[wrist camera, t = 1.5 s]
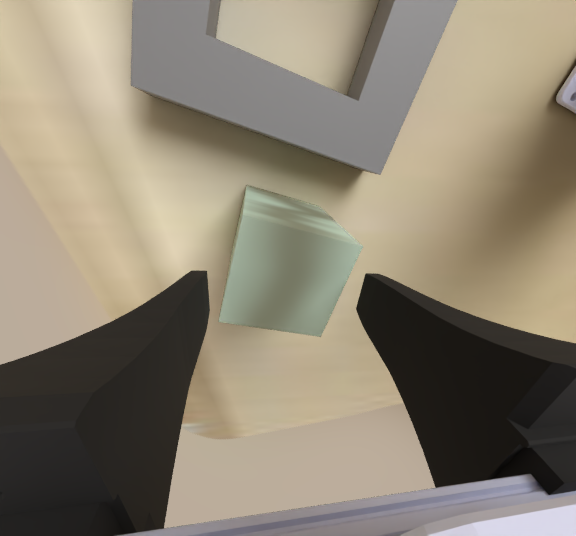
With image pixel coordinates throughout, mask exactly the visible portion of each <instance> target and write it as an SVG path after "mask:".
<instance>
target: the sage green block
mask: <svg viewBox="0 0 576 536" xmlns="http://www.w3.org/2000/svg"><path fill="white" fill-rule="evenodd" d="M362 248H363V246H362V245H361V244H360V243H359V242H358V241H357V240H356V239H354V238H353V237H352V236H351V235H350V234H349V233H348V232H347V231H346V230H345V229H344V228H342V227H341V226H340V225H339V224H338V223H337V222H336V221H335V220H334V219H333V218H331V217H330V216H329V215H328V214H327V213H326V212H325V211H324V210H323V209H322V208H321V207H319V206H317V205H313V204H310V203H306V202H303V201H300V200H296V199H293V198H289V197H286V196H283V195H279V194H276V193H273V192H269V191H266V190H262V189H259V188H256V187H252V186H249V185H247V186H246V190H245V195H244V199H243V204H242V208H241V213H240V217H239V222H238V226H237V231H236V235H235V240H234V244H233V249H232V253H231V258H230V263H229V269H228V274H227V279H226V285H225V290H224V295H223V300H222V306H221V311H220V316H219V322H222V323H228V324H235V325H242V326H249V327H256V328H263V329H270V330H277V331H284V332H291V333H298V334H305V335H312V336H319V337H321V335H322V333H323V331H324V329H325V326H326V324H327V322H328V320H329V318H330V316H331V314H332V311H333V309H334V307H335V305H336V303H337V301H338V299H339V297H340V294H341V292H342V290H343V288H344V286H345V284H346V282H347V280H348V277H349V275H350V273H351V271H352V269H353V267H354V265H355V262H356V260H357V258H358V256H359V254H360V252H361V250H362Z"/></svg>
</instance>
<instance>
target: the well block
mask: <svg viewBox="0 0 576 536" xmlns="http://www.w3.org/2000/svg"><path fill="white" fill-rule="evenodd" d="M220 2H221V0H133V11H132V58H131V86H133V87H135V88H137V89H139V90H141V91H143V92H145V93H147V94H149V95H151V96H154V97H157V98H160V99H163V100H166V101H168V102H171V103H174V104H177V105H180V106H182V107H185V108H188V109H191V110H194V111H196V112H199V113H202V114H205V115H208V116H211V117H213V118H216V119H219V120H222V121H225V122H227V123H230V124H233V125H236V126H239V127H242V128H244V129H247V130H250V131H253V132H256V133H258V134H261V135H264V136H267V137H270V138H273V139H275V140H278V141H281V142H284V143H287V144H289V145H292V146H295V147H298V148H301V149H303V150H306V151H309V152H312V153H315V154H318V155H320V156H323V157H326V158H329V159H332V160H334V161H337V162H340V163H343V164H346V165H349V166H351V167H354V168H357V169H360V170H363V171H366V172H371V173H375V174H379V175H381V172H382V170H383V168H384V165H385V163H386V161H387V159H388V156H389V154H390V152H391V150H392V147H393V145H394V143H395V141H396V138H397V136H398V134H399V132H400V129H401V127H402V125H403V122H404V120H405V118H406V116H407V113H408V111H409V109H410V107H411V104H412V102H413V100H414V98H415V95H416V93H417V91H418V89H419V86H420V84H421V82H422V79H423V77H424V75H425V73H426V70H427V68H428V66H429V64H430V61H431V59H432V57H433V55H434V52H435V50H436V48H437V46H438V43H439V41H440V39H441V36H442V34H443V32H444V30H445V27H446V25H447V23H448V21H449V18H450V16H451V14H452V12H453V9H454V7H455V5H456V3H457V0H379V3H378V6H377V9H376V12H375V15H374V18H373V21H372V24H371V26H370V29H369V32H368V35H367V38H366V41H365V44H364V47H363V50H362V53H361V56H360V59H359V62H358V65H357V68H356V70H355V73H354V76H353V79H352V82H351V85H350V88H349V91H348V94H347V96H346V95H343V94H341V93H339V92H337V91H334V90H332V89H330V88H327V87H325V86H323V85H321V84H318V83H316V82H314V81H311V80H309V79H307V78H305V77H302V76H300V75H298V74H295V73H293V72H291V71H289V70H286V69H284V68H282V67H279V66H277V65H275V64H273V63H270V62H268V61H266V60H263V59H261V58H259V57H257V56H254V55H252V54H250V53H247V52H245V51H243V50H241V49H238V48H236V47H234V46H231V45H229V44H227V43H225V42H222V41H220V40H218V39H215V38H216V31H217V24H218V16H219V9H220Z"/></svg>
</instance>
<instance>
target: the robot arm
mask: <svg viewBox="0 0 576 536" xmlns="http://www.w3.org/2000/svg"><path fill="white" fill-rule="evenodd" d="M556 101H557V103H559V104H560V105H562V106H564V107H566V108H567V109H569V110H571V111H572V112H574V113H576V66H575V68H574V69H573V71H572V72H571V74H570V75H569V77H568V78H567V80H566V81H565V83H564V84H563V86H562V88H561V89H560V91H559V92H558V94H557V97H556ZM356 310H357V312H358V315H359V318H360V320H361V323H362V325H363V327H364V329H365V331H366V333H367V334H368V336H369V338H370V339H371V341H372V343H373V345H374V346H375V348H376V350H377V351H378V353H379V355H380V356H381V358H382V360H383V361H384V363H385V365H386V366H387V368H388V370H389V372H390V374H391V376H392V378H393V380H394V382H395V384H396V386H397V388H398V391H399V393H400V395H401V397H402V399H403V402H404V404H405V406H406V409H407V411H408V414H409V415H410V418H411V421H412V423H413V425H414V428H415V431H416V434H417V436H418V439H419V441H420V444H421V447H422V449H423V452H424V455H425V458H426V461H427V463H428V466H429V469H430V472H431V475H432V478H433V481H434V484H435V487H436V488H432V489H425V490H419V491H412V492H405V493H398V494H391V495H385V496H378V497H371V498H364V499H358V500H351V501H344V502H338V503H332V504H324V505H318V506H311V507H305V508H298V509H291V510H284V511H278V512H271V513H265V514H257V515H251V516H245V517H238V518H231V519H224V520H217V521H211V522H204V523H197V524H191V525H184V526H177V527H171V528H164V523H165V517H166V511H167V505H168V498H169V492H170V485H171V479H172V474H173V468H174V463H175V457H176V451H177V445H178V440H179V435H180V429H181V425H182V419H183V414H184V409H185V404H186V399H187V394H188V390H189V386H190V382H191V378H192V375H193V372H194V369H195V365H196V362H197V359H198V356H199V353H200V349H201V346H202V343H203V340H204V336H205V333H206V329H207V324H208V318H209V311H210V308H209V294H208V279H207V271H190V272H189V273H187V274H186V275H185V276H183V277H182V278H181V279H179V280H178V281H177V282H175V283H174V284H172V285H171V286H170V287H168V288H167V289H166V290H164V291H163V292H161V293H160V294H158V295H157V296H155V297H154V298H152V299H150V300H149V301H147V302H146V303H144V304H143V305H141V306H139V307H138V308H136V309H134V310H133V311H131V312H129V313H127V314H125V315H123V316H121V317H119V318H118V319H116V320H114V321H112V322H110V323H108V324H105V325H103V326H101V327H99V328H97V329H94V330H92V331H90V332H87V333H85V334H83V335H81V336H79V337H76V338H74V339H71V340H69V341H66V342H64V343H61V344H59V345H56V346H54V347H51V348H48V349H46V350H43V351H40V352H37V353H35V354H32V355H29V356H26V357H23V358H20V359H18V360H15V361H11V362H8V363H5V364H2V365H0V536H576V344H575V343H570V342H566V341H561V340H556V339H552V338H548V337H544V336H540V335H536V334H532V333H528V332H525V331H521V330H517V329H514V328H510V327H507V326H504V325H501V324H497V323H494V322H491V321H488V320H485V319H482V318H479V317H476V316H473V315H471V314H468V313H465V312H463V311H460V310H457V309H455V308H452V307H450V306H448V305H445V304H443V303H441V302H439V301H436V300H434V299H432V298H430V297H428V296H425V295H423V294H421V293H419V292H417V291H415V290H413V289H411V288H409V287H407V286H405V285H403V284H401V283H399V282H397V281H394V280H392V279H390V278H388V277H386V276H383V275H380V274H365V278H364V282H363V285H362V289H361V293H360V297H359V300H358V304H357V308H356Z"/></svg>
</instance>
